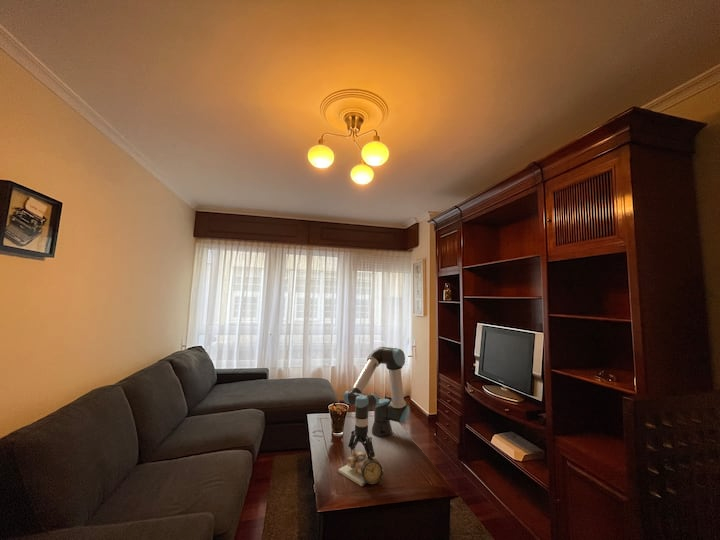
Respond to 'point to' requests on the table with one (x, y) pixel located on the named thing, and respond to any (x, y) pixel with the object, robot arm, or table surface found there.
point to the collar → (356, 461)
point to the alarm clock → (371, 471)
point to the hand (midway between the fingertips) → (360, 465)
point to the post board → (353, 473)
